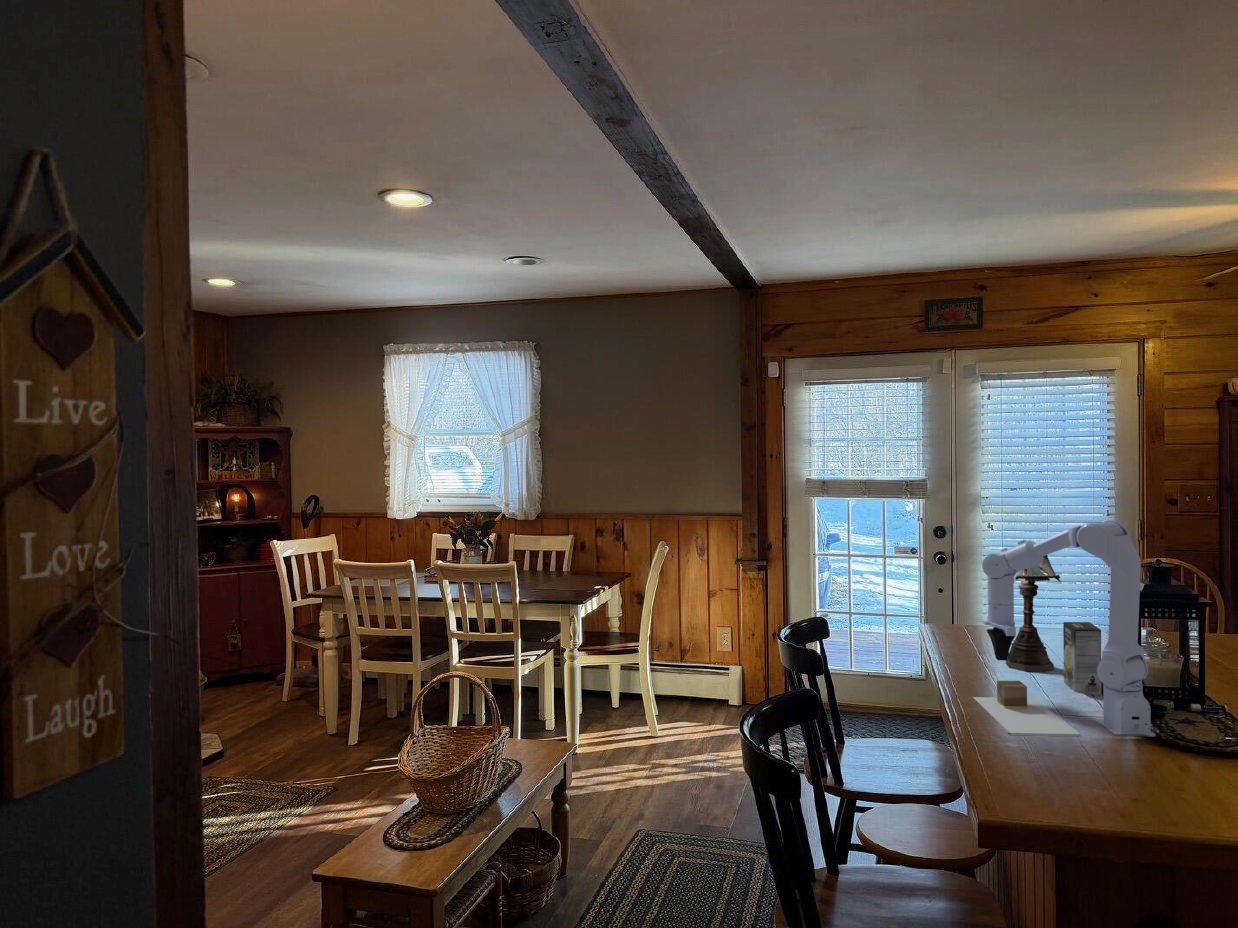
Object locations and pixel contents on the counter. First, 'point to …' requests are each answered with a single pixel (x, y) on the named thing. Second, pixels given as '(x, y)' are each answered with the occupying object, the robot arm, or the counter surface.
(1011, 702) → the flip block
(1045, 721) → the mat
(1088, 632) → the coffee box
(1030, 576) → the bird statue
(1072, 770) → the counter surface
